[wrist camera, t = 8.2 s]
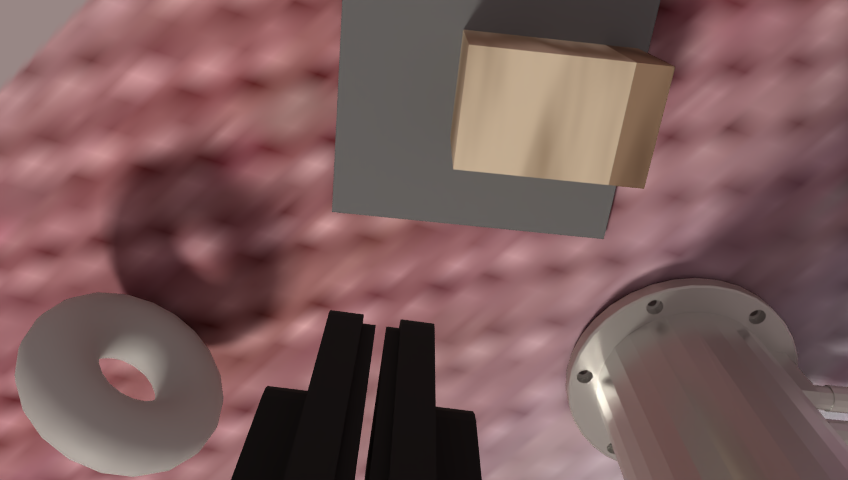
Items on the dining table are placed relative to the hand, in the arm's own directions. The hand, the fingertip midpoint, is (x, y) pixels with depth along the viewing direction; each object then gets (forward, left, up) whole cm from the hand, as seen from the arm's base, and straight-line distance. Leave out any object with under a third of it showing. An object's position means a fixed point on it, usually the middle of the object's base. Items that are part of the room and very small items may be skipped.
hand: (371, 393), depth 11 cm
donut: (+12, +14, -23) cm, 30 cm away
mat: (-4, 0, -23) cm, 23 cm away
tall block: (-2, -1, -20) cm, 20 cm away
